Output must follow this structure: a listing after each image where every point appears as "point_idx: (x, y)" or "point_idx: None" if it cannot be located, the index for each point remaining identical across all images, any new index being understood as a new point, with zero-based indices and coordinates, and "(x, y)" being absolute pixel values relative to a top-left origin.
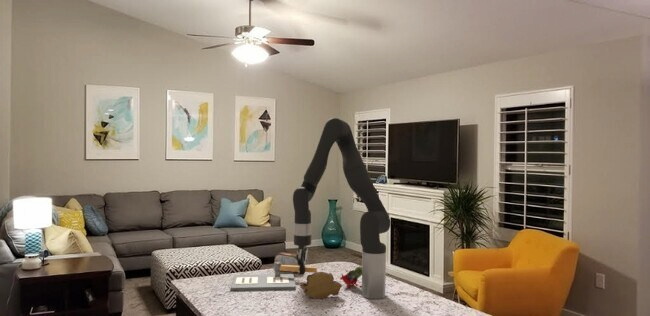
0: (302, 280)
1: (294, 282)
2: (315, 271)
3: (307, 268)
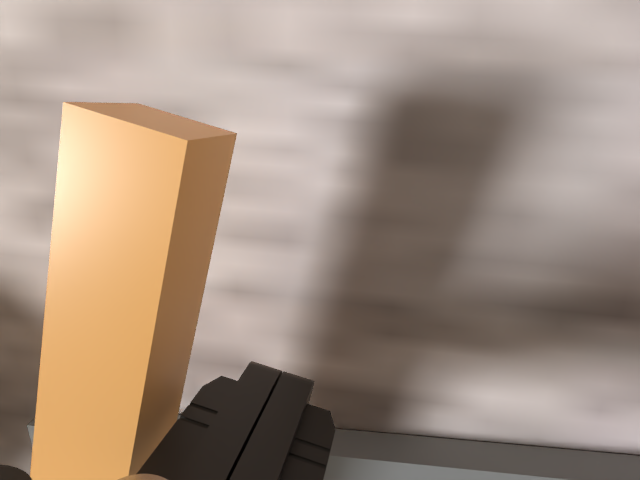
0: (207, 314)
1: (454, 471)
2: (221, 151)
3: (162, 351)
